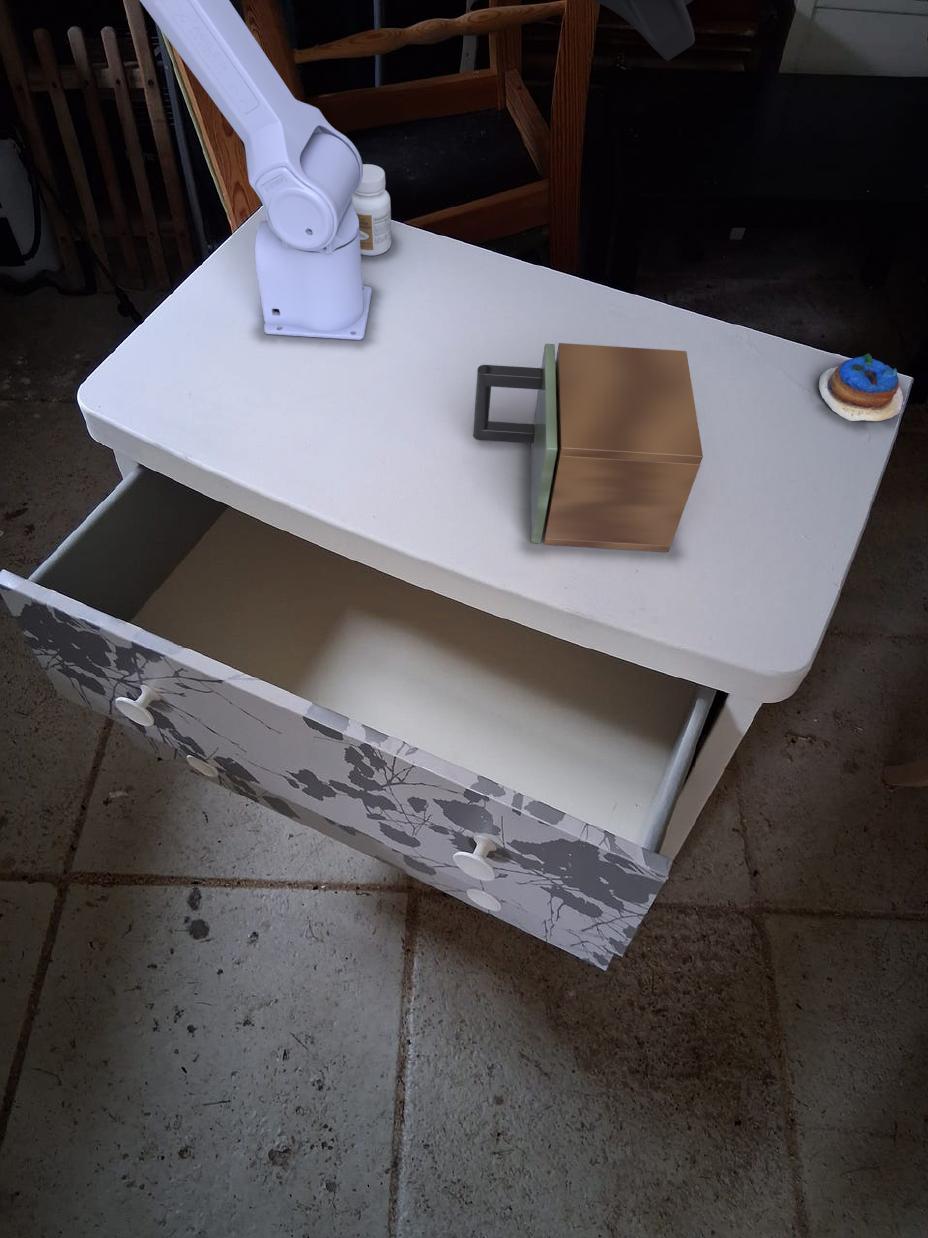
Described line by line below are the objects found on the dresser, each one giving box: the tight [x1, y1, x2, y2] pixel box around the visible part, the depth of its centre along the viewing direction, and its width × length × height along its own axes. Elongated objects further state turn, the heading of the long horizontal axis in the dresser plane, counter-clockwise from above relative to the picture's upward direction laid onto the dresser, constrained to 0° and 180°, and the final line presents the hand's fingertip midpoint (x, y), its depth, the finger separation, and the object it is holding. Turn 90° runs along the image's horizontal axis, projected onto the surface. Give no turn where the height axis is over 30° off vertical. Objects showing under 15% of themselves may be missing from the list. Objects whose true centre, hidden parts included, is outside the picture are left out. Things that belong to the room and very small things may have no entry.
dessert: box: [818, 353, 904, 422], centre depth 82 cm, size 8×7×6 cm
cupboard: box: [543, 342, 704, 553], centre depth 70 cm, size 10×12×11 cm
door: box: [472, 343, 557, 544], centre depth 70 cm, size 6×12×10 cm, turn 178°
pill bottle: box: [352, 163, 392, 257], centre depth 91 cm, size 4×4×8 cm
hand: (688, 22), depth 62 cm, fingers open, 7 cm apart
